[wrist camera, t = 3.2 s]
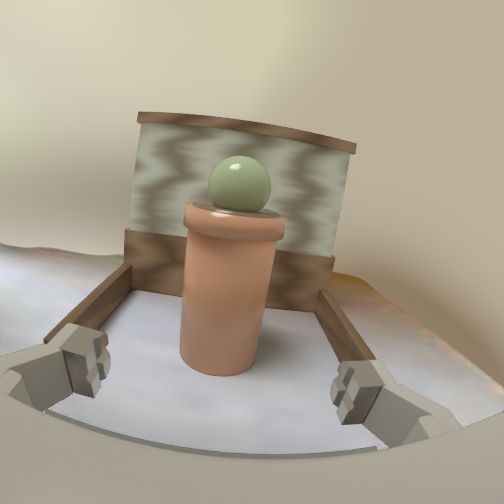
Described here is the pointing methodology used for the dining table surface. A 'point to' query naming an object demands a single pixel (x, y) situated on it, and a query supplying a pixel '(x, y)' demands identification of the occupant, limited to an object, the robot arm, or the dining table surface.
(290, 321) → the dining table surface
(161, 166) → the brown wooden frame
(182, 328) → the seedling pot
